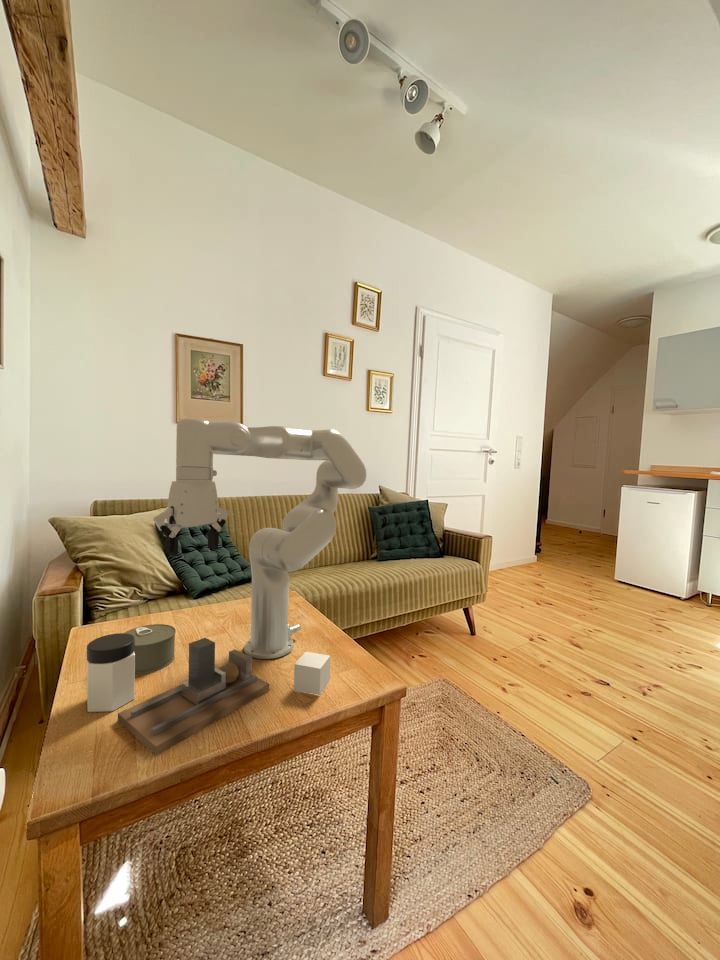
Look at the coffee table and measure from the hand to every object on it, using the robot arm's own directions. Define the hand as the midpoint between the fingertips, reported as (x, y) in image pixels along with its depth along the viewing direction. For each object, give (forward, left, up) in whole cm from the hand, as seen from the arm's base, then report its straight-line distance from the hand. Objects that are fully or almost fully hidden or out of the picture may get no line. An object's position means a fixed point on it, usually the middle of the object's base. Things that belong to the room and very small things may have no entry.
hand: (193, 551), depth 88 cm
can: (+3, -14, -29) cm, 32 cm away
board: (+5, +11, -28) cm, 31 cm away
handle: (+4, +11, -26) cm, 29 cm away
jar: (+15, -4, -28) cm, 32 cm away
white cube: (-14, +24, -29) cm, 40 cm away
